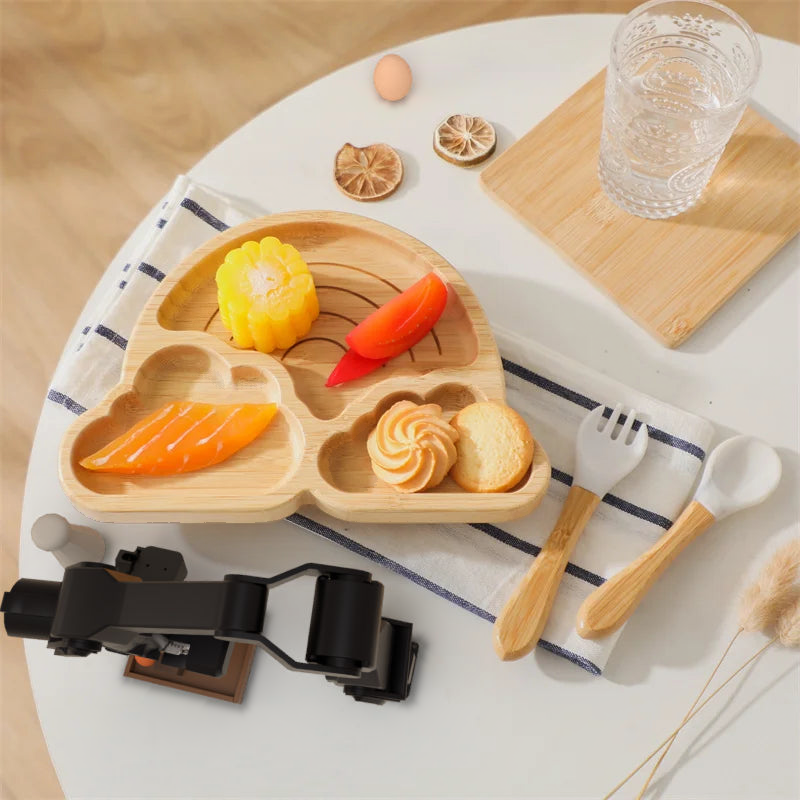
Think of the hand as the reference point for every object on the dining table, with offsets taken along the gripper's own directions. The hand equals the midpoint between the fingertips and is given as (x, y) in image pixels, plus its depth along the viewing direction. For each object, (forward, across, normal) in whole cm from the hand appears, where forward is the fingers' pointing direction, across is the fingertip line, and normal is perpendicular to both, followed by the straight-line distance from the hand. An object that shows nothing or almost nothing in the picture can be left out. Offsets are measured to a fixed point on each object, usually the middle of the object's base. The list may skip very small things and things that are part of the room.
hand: (170, 639), depth 106 cm
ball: (+2, +3, +2) cm, 4 cm away
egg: (+5, -7, -85) cm, 85 cm away
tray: (+4, -2, 0) cm, 5 cm away
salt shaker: (+4, +15, -8) cm, 18 cm away
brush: (+4, 0, 0) cm, 4 cm away
